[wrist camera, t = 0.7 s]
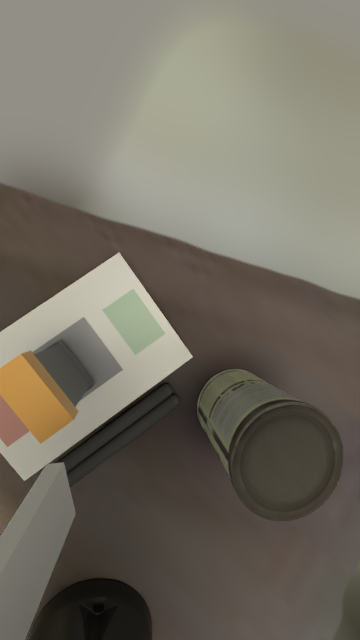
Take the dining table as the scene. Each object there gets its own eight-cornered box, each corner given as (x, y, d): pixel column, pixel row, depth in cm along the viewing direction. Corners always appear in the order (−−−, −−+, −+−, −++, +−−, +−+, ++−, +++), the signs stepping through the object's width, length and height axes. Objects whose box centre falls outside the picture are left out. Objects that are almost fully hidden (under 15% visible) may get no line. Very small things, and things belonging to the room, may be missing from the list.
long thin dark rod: (67, 485, 34) (64, 493, 33) (51, 465, 34) (46, 473, 32) (181, 400, 36) (183, 404, 34) (166, 380, 36) (168, 383, 34)
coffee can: (283, 392, 38) (365, 440, 24) (243, 456, 38) (303, 542, 24) (223, 353, 37) (274, 379, 23) (181, 418, 36) (206, 487, 22)
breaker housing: (41, 456, 34) (23, 482, 29) (-34, 365, 32) (-67, 376, 27) (185, 350, 36) (193, 357, 31) (122, 260, 34) (119, 252, 29)
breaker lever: (76, 395, 29) (40, 444, 18) (43, 352, 28) (-14, 377, 18) (97, 380, 29) (73, 420, 19) (65, 337, 28) (21, 353, 18)
